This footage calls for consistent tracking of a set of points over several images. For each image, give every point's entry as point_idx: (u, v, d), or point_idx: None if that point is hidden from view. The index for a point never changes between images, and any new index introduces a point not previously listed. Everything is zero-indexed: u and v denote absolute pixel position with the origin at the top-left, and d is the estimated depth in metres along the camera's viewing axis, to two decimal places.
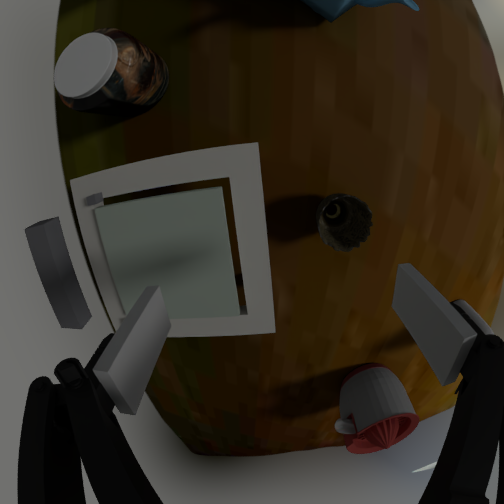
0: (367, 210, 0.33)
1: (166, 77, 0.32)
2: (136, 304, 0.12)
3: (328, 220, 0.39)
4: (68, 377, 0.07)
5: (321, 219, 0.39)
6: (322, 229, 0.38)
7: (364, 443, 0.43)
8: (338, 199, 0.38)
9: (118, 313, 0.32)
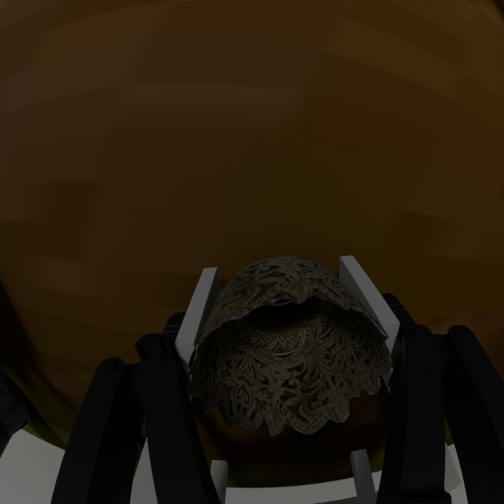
0: None
1: None
2: (200, 284, 0.14)
3: (301, 312, 0.15)
4: (149, 352, 0.09)
5: (296, 333, 0.15)
6: (319, 349, 0.13)
7: None
8: None
9: None
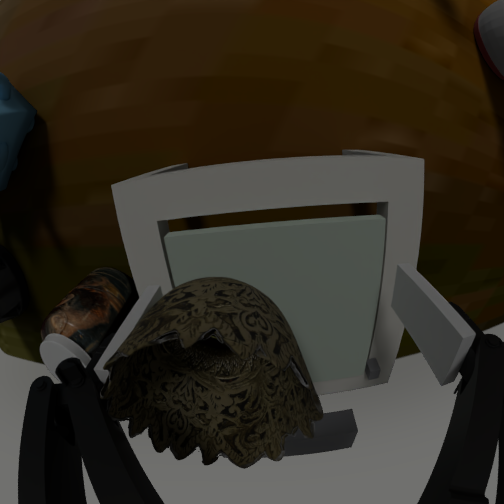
0: None
1: (103, 271, 0.33)
2: (137, 304, 0.12)
3: None
4: (69, 376, 0.07)
5: None
6: (264, 376, 0.12)
7: None
8: None
9: (356, 379, 0.23)
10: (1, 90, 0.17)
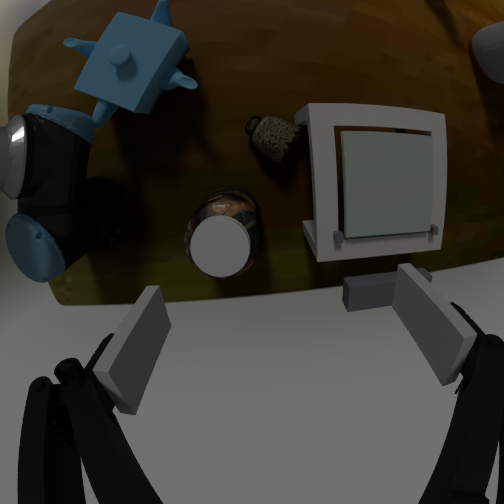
0: (295, 133, 0.43)
1: (230, 187, 0.47)
2: (136, 304, 0.12)
3: None
4: (68, 377, 0.07)
5: None
6: None
7: None
8: None
9: (424, 241, 0.36)
10: (169, 25, 0.30)
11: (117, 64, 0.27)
